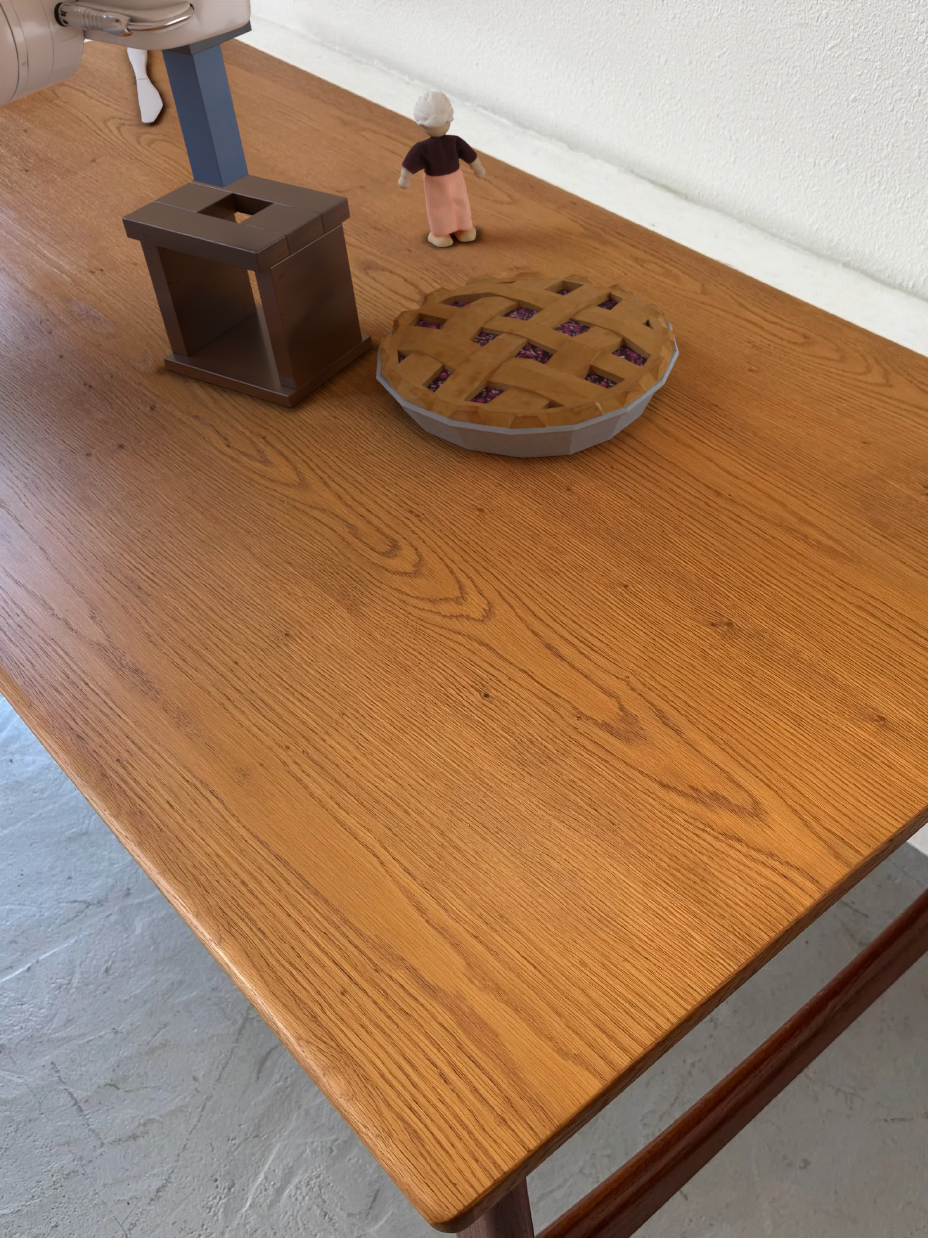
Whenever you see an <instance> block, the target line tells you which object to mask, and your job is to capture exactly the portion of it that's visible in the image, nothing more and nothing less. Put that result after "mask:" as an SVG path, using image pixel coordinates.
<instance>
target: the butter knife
mask: <svg viewBox="0 0 928 1238" xmlns="http://www.w3.org/2000/svg"><path fill="white" fill-rule="evenodd" d="M126 52H127V56H128V59H129V61H130V63H131V66H132V68H133V72H134V75H135V81H136V89H137V98H138V99H137V100H138V105H139V110H140V116H141V117H140V118H141V122H142V123H144V124H151V123H154V122H155V120H156V119H157V118H158V115H159V114H160V112H161V110H162V109H163V100H162V98H161V96H160V93H159V91H158V90H157V88H156V87H155V86H154V84H152V82H151V80H150V78H149V77H148V74H147V64H148V63H147V62H148V50H140V49H133V48H128V47H126Z"/></svg>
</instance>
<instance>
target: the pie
mask: <svg viewBox="0 0 928 1238" xmlns="http://www.w3.org/2000/svg"><path fill="white" fill-rule="evenodd" d="M679 355H680V352H679V348H678V344H677V340H676V338H675V334H674V330H673V327H672V324H671V323H670V322H669V321H668V320H667V319H666V316H665V312H663V310H662V309H660V307H658V306H657V305H656V304H655V303H643V302H642V301H641V300H639V299H637V297H636V296H635V295H634V292H632V291H631V290H629V289H627V288H626V287H624V286H622V285H621V284H619V283H615V284H612V285H611V286H608V287H607V286H602V285H597V284H595V283H594V282H593V281H592V279H591V278H590V276H588V275H580V274H570V275H568V276H565V277H562V278H557V277H550V276H545V275H544V274H541V273H540V271H519V272H518V273H516V274H515V275H513V276H510V277H509V276H508V277H501V278H496V277H495V276H492V275H490V274H488V273H486V274H482V275H478V276H474V277H470V278H468V279H467V281H466V283H465V285H463V286H460V287H458V288H455V289H448V288H445V287H438V288H437V289H436V288H435V290H433V291H430V292H428V293H427V294H425V296H424V298H423V301H422V303H421V305H420V307H418V308H415V309H409V310H403V311H401V312H400V313H399V314H398V315H397V316H396V317H395V318H394V319H393V323H392V330H391V332H390V333H389V334H388V335H383V337H382V339H381V341H380V344H379V346H378V348H377V359H376V362H377V363H376V374H375V375H376V376H375V379H376V380H377V381H378V382H379V383H380V384H381V386H383V387H384V389H385V390H386V391H387V392H388V393H389V394H390V395H391V396H392V397H393V398H394V399H395V400H396V401H397V402H398V403H399V405H400V406H401V407H402V409H403V410H404V412H405V413H406V414H408V416H409V417H410V418H411V419H412V420H414V421H415V422H416V423H417V424H418V425H419V427H421V428H422V429H423V430H424V432H426V433H428V434H431V435H433V436H435V437H437V438H440V439H442V440H444V441H447V442H449V443H451V444H454V445H456V446H459V447H460V448H463V449H465V450H468V451H474V452H481V453H488V454H493V455H500V456H508V457H513V458H514V457H515V458H524V459H525V458H541V457H556V456H557V457H558V456H570V455H573V454H575V453H578V452H581V451H585V450H587V449H589V448H592V447H594V446H596V445H599V444H602V443H604V442H607V441H610V440H611V439H613V437H615V436H616V435H618V434H619V433H620V432H622V431H623V430H624V429H625V428H626V427H628V426H630V424H632V423H633V422H634V421H636V420H637V419H639V418H640V417H641V416H642V415H643V413H644V411H645V410H646V408H647V406H648V405H649V402H650V401H651V400H652V397H653V395H654V394H655V393H656V392H657V391H658V390H660V389H661V388H662V387H663V386H664V385H665V383H666V382H667V379H668V377H669V375H670V374H671V371H672V370H673V367H674V365H675V363H676V361H677V359H678V357H679Z"/></svg>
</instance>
